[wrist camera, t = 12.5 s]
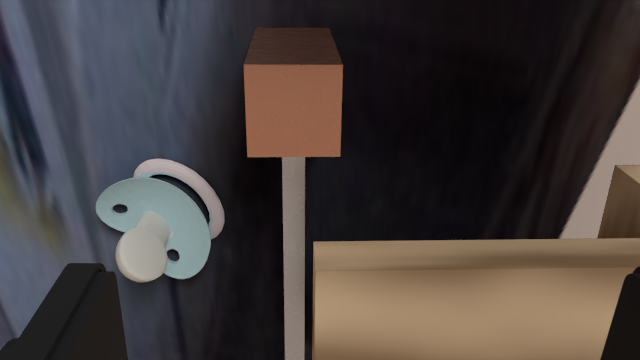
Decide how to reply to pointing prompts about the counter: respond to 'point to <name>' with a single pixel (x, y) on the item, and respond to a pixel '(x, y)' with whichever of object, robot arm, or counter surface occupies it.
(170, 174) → the pacifier
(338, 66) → the orange-brown mallet
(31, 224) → the counter surface
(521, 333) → the oak shelf
